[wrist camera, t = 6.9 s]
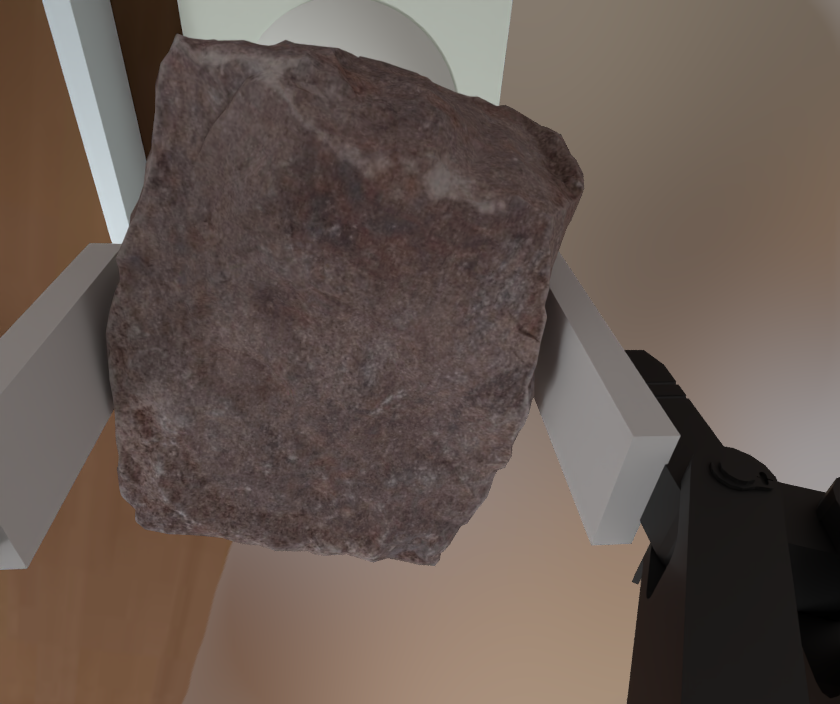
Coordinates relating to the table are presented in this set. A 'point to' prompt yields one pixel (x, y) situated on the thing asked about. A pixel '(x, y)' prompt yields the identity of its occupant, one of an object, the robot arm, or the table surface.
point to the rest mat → (375, 33)
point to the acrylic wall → (101, 104)
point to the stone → (329, 300)
